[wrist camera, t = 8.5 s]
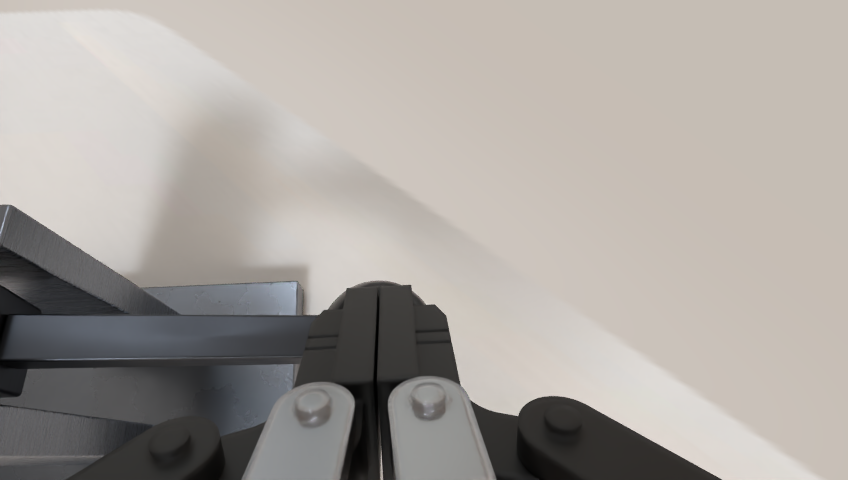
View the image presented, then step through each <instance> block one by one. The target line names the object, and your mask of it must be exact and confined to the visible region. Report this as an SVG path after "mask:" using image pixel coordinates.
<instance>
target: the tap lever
mask: <svg viewBox="0 0 848 480" xmlns="http://www.w3.org/2000/svg"><path fill="white" fill-rule="evenodd" d="M381 286H400V284H397V283H393V282H389V281H370V282H364V283H361V284H358V285H356V286H354V287H351V288H359V287H378V290H379V304H380V287H381ZM345 295H346V291H345V292H344V293H342V294H341V295H340V296H339V297H338V298H337V299H336V300H335V301H334V302H333V303H332V304H331V306H330V307H329V309H328V310H335V309H343V306H344V301H345ZM412 300H413V306H415V305H426V304H425V303H424V301H423V300H422V299H421V298H420V297H419V296H418V295H417V294H415V293H414V292H413V291H412ZM41 313H42V312H41V310H40V309H39V308H37V307H35V306H34V305H32V304H31V303H29V302H27V301H26V300H24V299H23V298H21V297H19V296H18V295H16V294H15V293H13V292H11V291H10V290H8V289H7V288H5V287H3V286H2V285H0V398H7V397H18V396H20V395H21V394H22V390H23V386H24V382H25V378H26V374H27V370H28V369H55V368H111V367H167V366H223V365H279V364H300V363H301V359H302V356H303V352H304V351H305V345H306V341H307V339H308V334H309V331H310V327H311V323H312V322H313V321H314V320H315V319H316V318H317V317H318V316H319V315H141V314H41Z"/></svg>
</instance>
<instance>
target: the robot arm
mask: <svg viewBox="0 0 848 480" xmlns="http://www.w3.org/2000/svg"><path fill="white" fill-rule="evenodd" d="M381 449H382V465H383V480H722V479H720V478H718V477H716V476H714V475H713V474H711V473H709V472H707V471H705V470H703V469H702V468H700V467H698V466H696V465H694V464H693V463H691V462H689V461H687V460H685V459H684V458H682V457H680V456H678V455H676V454H674V453H673V452H671V451H669V450H667V449H665V448H664V447H662V446H660V445H658V444H656V443H655V442H653V441H651V440H649V439H647V438H645V437H644V436H642V435H640V434H638V433H636V432H635V431H633V430H631V429H629V428H627V427H626V426H624V425H622V424H620V423H618V422H617V421H615V420H613V419H611V418H609V417H607V416H606V415H604V414H602V413H600V412H598V411H597V410H595V409H593V408H591V407H589V406H588V405H586V404H584V403H581V402H579V401H576V400H574V399H570V398H566V397H558V396H549V397H542V398H537V399H535V400H532V401H530V402H529V403H527V404H526V405H525V406H524V407H523V408H522V409H521V411H520V413H519V416H513V415H507V414H502V413H497V412H493V411H490V410H487V409H484V408H482V407H480V406H478V405H477V404H475V403H473V402H472V401H471V400H470V399H469V397H468V394H467V392H466V391H465V390H464V389H463V388H462V387H461V385H460V381H459V376H458V371H457V366H456V362H455V357H454V352H453V347H452V343H451V337H450V332H449V328H448V323H447V318H446V315H445V314H444V313H443V312H442V311H441V310H440V309H439V308H438V307H437V306H436V305H415V306H413V300H412V288H411V285H400V286H381V287H380V304H379V290H378V287H359V288H347V289H346V295H345V301H344V306H343V309H335V310H324V311H323V312H322V313H321V314H320V315H319V316H318V317H317V318H316V319H315V320H314V321H313V322H312V323H311V327H310V331H309V334H308V339H307V341H306V345H305V351H304V352H303V356H302V359H301V363H300V367H299V370H298V374H297V377H296V381H295V385H294V388H293V389H291V390H290V391H288V392H286V393H285V394H283V395H282V396H281V397H280V398H279V399H278V400H277V401H276V403H275V404H274V406H273V408H272V410H271V412H270V414H269V417H268V419H267V421H265V422H263V423H261V424H259V425H257V426H254V427H251V428H248V429H244V430H241V431H238V432H234V433H231V434H227V435H224V436H220V432H219V429H218V427H217V426H216V424H215V423H214V422H212V421H211V420H209V419H207V418H203V417H197V416H186V417H179V418H174V419H170V420H167V421H165V422H162V423H160V424H157V425H155V426H153V427H151V428H150V429H148V430H146V431H144V432H143V433H141V434H139V435H138V436H136V437H135V438H133V439H131V440H130V441H128V442H126V443H125V444H123V445H121V446H120V447H118V448H117V449H115V450H113V451H112V452H110V453H108V454H107V455H105V456H103V457H102V458H100V459H99V460H97V461H95V462H94V463H92V464H90V465H89V466H87V467H85V468H84V469H82V470H81V471H79V472H77V473H76V474H74V475H72V476H71V477H69V478H67V479H66V480H380V467H381Z"/></svg>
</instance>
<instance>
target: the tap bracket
mask: <svg viewBox="0 0 848 480" xmlns="http://www.w3.org/2000/svg"><path fill="white" fill-rule="evenodd" d="M0 285H2V286H3V287H5V288H7V289H8V290H10V291H11V292H13V293H15V294H16V295H18V296H19V297H21V298H23V299H24V300H26V301H27V302H29V303H31V304H32V305H34V306H35V307H37V308H39V309H40V310H41V312H42V313H41V314H141V315H302V313H303V289H302V287H301V285H300V284H299V282H298V281H286V282H263V283H240V284H218V285H195V286H172V287H149V288H140V287H138V286H137V285H135V284H134V283H132V282H130V281H129V280H127V279H126V278H124V277H123V276H121V275H120V274H118V273H116V272H115V271H113V270H112V269H110V268H109V267H107V266H106V265H104V264H103V263H101V262H99V261H98V260H96V259H95V258H93V257H92V256H90V255H89V254H87V253H85V252H84V251H82V250H81V249H79V248H78V247H76V246H75V245H73V244H72V243H70V242H68V241H67V240H65V239H64V238H62V237H61V236H59V235H58V234H56V233H54V232H53V231H51V230H50V229H48V228H47V227H45V226H44V225H42V224H41V223H39V222H37V221H36V220H34V219H33V218H31V217H30V216H28V215H27V214H25V213H23V212H22V211H20V210H19V209H17V208H16V207H14V206H12V205H0ZM299 367H300V364H279V365H223V366H167V367H111V368H55V369H28V370H27V374H26V378H25V382H24V386H23V390H22V394H21V395H20V396H18V397H7V398H0V480H66V479H67V478H69V477H71V476H72V475H74V474H76V473H77V472H79V471H81V470H82V469H84V468H85V467H87V466H89V465H90V464H92V463H94V462H95V461H97V460H99V459H100V458H102V457H103V456H105V455H107V454H108V453H110V452H112V451H113V450H115V449H117V448H118V447H120V446H121V445H123V444H125V443H126V442H128V441H130V440H131V439H133V438H135V437H136V436H138V435H139V434H141V433H143V432H144V431H146V430H148V429H150V428H151V427H153V426H155V425H157V424H160V423H162V422H165V421H167V420H170V419H174V418H179V417H186V416H197V417H203V418H207V419H209V420H211V421H212V422H214V423H215V424H216V426H217V427H218V429H219V432H220V436H224V435H227V434H231V433H234V432H238V431H241V430H244V429H248V428H251V427H254V426H257V425H259V424H261V423H263V422H265V421H267V419H268V417H269V414H270V412H271V410H272V408H273V406H274V404H275V403H276V401H277V400H278V399H279V398H280V397H281V396H282V395H283V394H285V393H286V392H288V391H290V390H291V389H293V388H294V385H295V381H296V377H297V374H298V370H299Z"/></svg>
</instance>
